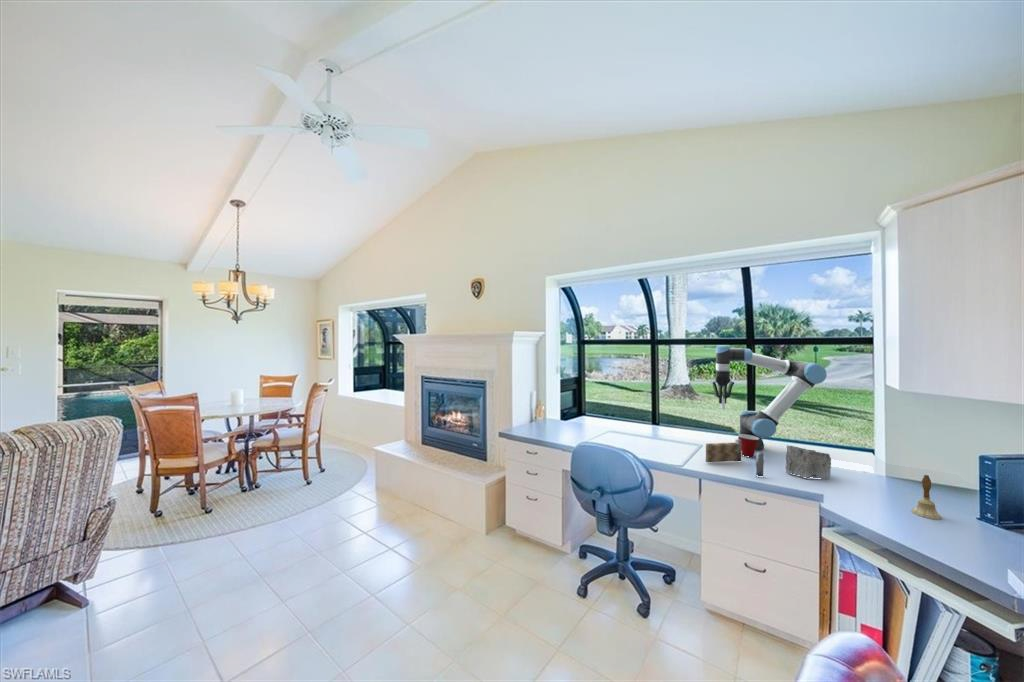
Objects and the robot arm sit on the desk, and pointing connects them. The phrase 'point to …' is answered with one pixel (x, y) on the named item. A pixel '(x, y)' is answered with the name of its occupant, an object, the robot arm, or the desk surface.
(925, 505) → the hand bell
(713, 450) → the gate
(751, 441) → the plastic cup
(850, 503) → the desk surface
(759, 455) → the gate frame
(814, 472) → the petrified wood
